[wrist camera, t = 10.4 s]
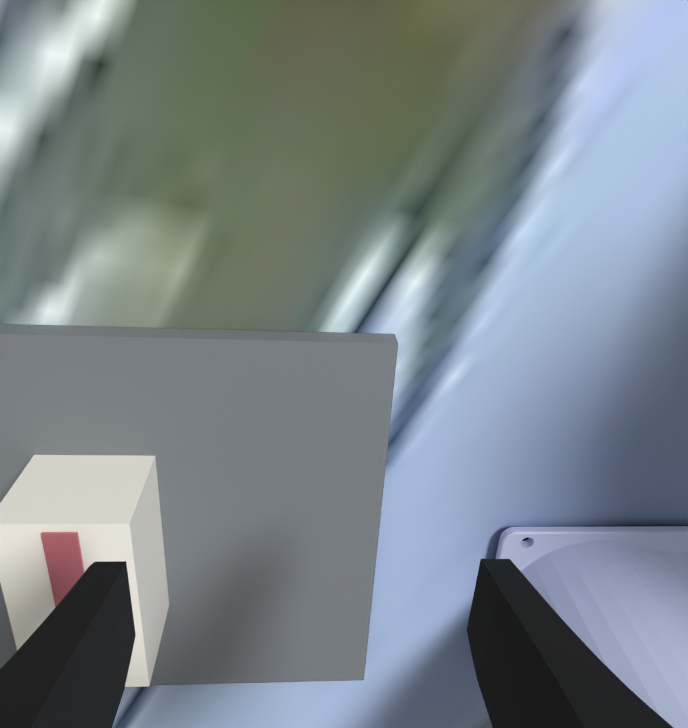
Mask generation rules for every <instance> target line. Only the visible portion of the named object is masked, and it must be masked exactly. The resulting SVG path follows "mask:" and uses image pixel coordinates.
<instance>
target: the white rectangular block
mask: <svg viewBox="0 0 688 728" xmlns="http://www.w3.org/2000/svg"><path fill="white" fill-rule="evenodd" d="M113 561H126V564H127V572H128V580H129V588H130V595H131V603H132V611H133V619H134V626H135V634H136V636H135V641H134V646H133V651H132V656H131V660H130V665H129V670H128V674H127V679H126V683H125V687H145V686H150V682H151V678H152V674H153V669H154V665H155V661H156V657H157V653H158V649H159V645H160V641H161V637H162V633H163V629H164V624H165V620H166V616H167V612H168V608H169V598H168V587H167V576H166V566H165V555H164V544H163V533H162V523H161V512H160V501H159V490H158V480H157V469H156V458H155V456H123V455H34V456H33V457H32V459H31V460H30V461H29V463H28V464H27V466H26V467H25V469H24V470H23V471H22V473H21V474H20V476H19V477H18V479H17V480H16V481H15V483H14V484H13V486H12V487H11V489H10V490H9V491H8V493H7V494H6V496H5V497H4V499H3V500H2V501H1V503H0V583H1V587H2V591H3V595H4V599H5V603H6V607H7V611H8V615H9V619H10V623H11V627H12V631H13V635H14V639H15V643H16V647H17V651H18V649H19V648H20V647H21V646H22V645H23V644H24V643H25V642H26V641H27V639H28V638H29V637H30V636H31V635H32V634H33V633H34V632H35V630H36V629H37V628H38V627H39V626H40V625H41V624H42V623H43V621H44V620H45V619H46V618H47V617H48V616H49V614H50V613H51V612H52V611H53V610H54V609H55V607H56V606H57V605H58V604H59V603H60V601H61V600H62V599H63V598H64V597H65V595H66V594H67V593H68V592H69V591H70V589H71V588H72V587H73V586H74V584H75V583H76V582H77V581H78V580H79V578H80V577H81V576H82V575H83V573H84V572H85V571H86V570H87V568H88V567H89V566H90V565H91V564H92V563H94V562H113Z"/></svg>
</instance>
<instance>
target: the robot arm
mask: <svg viewBox="0 0 688 728" xmlns="http://www.w3.org/2000/svg"><path fill="white" fill-rule="evenodd" d="M528 537H529V539H527V540H525V541H522V540H523V539H524V538H528ZM467 633H468V638H469V643H470V648H471V653H472V658H473V662H474V667H475V671H476V676H477V680H478V683H479V686H480V689H481V693H482V696H483V699H484V702H485V705H486V708H487V711H488V714H489V717H490V720H491V723H492V726H493V728H688V526H644V527H510V528H508V529H506V530H504V531H503V532H502V533H501V536H500V539H499V544H498V549H497V553H496V558H495V559H481V561H480V566H479V571H478V576H477V581H476V586H475V592H474V597H473V602H472V607H471V612H470V617H469V622H468V627H467ZM135 636H136V634H135V626H134V619H133V611H132V603H131V595H130V588H129V580H128V572H127V564H126V561H113V562H94V563H92V564H91V565H90V566H89V567H88V568H87V570H86V571H85V572H84V573H83V575H82V576H81V577H80V578H79V580H78V581H77V582H76V583H75V584H74V586H73V587H72V588H71V589H70V591H69V592H68V593H67V594H66V595H65V597H64V598H63V599H62V600H61V601H60V603H59V604H58V605H57V606H56V607H55V609H54V610H53V611H52V612H51V613H50V614H49V616H48V617H47V618H46V619H45V620H44V621H43V623H42V624H41V625H40V626H39V627H38V628H37V629H36V630H35V632H34V633H33V634H32V635H31V636H30V637H29V638H28V639H27V641H26V642H25V643H24V644H23V645H22V646H21V647H20V648H19V649H18V651H17V652H16V653H15V654H14V655H13V656H12V657H11V658H10V659H9V660H8V661H7V662H6V663H5V664H4V666H3V667H2V668H1V669H0V728H112V725H113V722H114V719H115V716H116V713H117V710H118V707H119V704H120V700H121V697H122V694H123V691H124V688H125V683H126V679H127V674H128V670H129V665H130V660H131V656H132V651H133V646H134V641H135Z"/></svg>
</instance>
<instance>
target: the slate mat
mask: <svg viewBox="0 0 688 728" xmlns="http://www.w3.org/2000/svg"><path fill="white" fill-rule="evenodd" d="M397 349H398V342H397V339H396V337H395V334H370V333H331V332H292V331H252V330H213V329H173V328H134V327H95V326H55V325H16V324H0V503H1V501H2V500H3V499H4V497H5V496H6V494H7V493H8V491H9V490H10V489H11V487H12V486H13V484H14V483H15V481H16V480H17V479H18V477H19V476H20V474H21V473H22V471H23V470H24V469H25V467H26V466H27V464H28V463H29V461H30V460H31V459H32V457H33V456H34V455H123V456H155V458H156V469H157V480H158V490H159V501H160V512H161V523H162V533H163V544H164V555H165V566H166V576H167V587H168V598H169V608H168V612H167V616H166V620H165V624H164V629H163V633H162V637H161V641H160V645H159V649H158V653H157V657H156V661H155V665H154V669H153V674H152V678H151V682H150V685H182V684H223V683H265V682H306V681H348V680H364V673H365V663H366V654H367V644H368V634H369V624H370V614H371V604H372V595H373V585H374V575H375V565H376V555H377V546H378V536H379V526H380V516H381V506H382V496H383V487H384V477H385V467H386V457H387V447H388V438H389V428H390V418H391V408H392V398H393V388H394V379H395V369H396V359H397ZM16 652H17V647H16V643H15V639H14V635H13V631H12V627H11V623H10V619H9V615H8V611H7V607H6V603H5V599H4V595H3V591H2V587H1V583H0V669H1V668H2V667H3V666H4V664H5V663H6V662H7V661H8V660H9V659H10V658H11V657H12V656H13V655H14V654H15V653H16Z"/></svg>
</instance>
